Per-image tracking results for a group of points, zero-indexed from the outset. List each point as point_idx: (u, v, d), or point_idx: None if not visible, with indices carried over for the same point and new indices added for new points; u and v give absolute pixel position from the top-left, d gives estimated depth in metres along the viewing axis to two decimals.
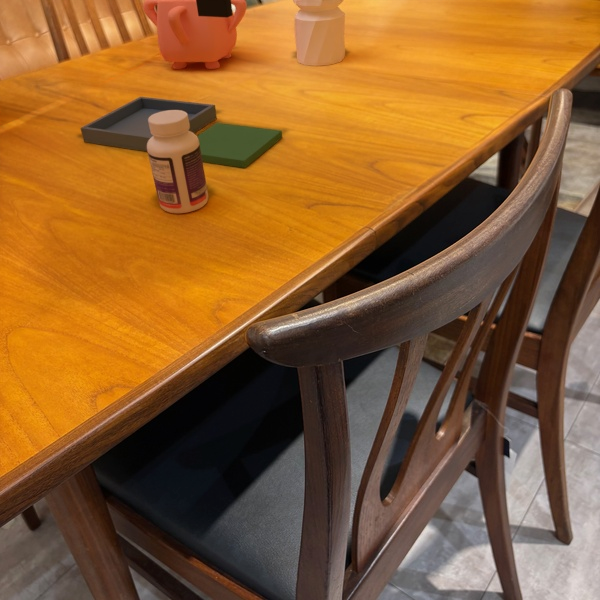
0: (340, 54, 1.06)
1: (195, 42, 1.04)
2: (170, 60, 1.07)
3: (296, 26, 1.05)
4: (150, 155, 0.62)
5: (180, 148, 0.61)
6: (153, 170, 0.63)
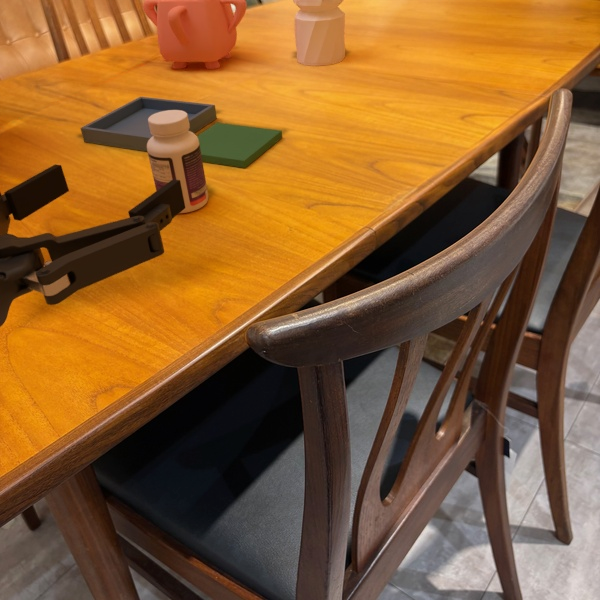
0: (340, 54, 1.06)
1: (195, 42, 1.04)
2: (170, 60, 1.07)
3: (296, 26, 1.05)
4: (150, 155, 0.62)
5: (180, 148, 0.61)
6: (153, 170, 0.63)
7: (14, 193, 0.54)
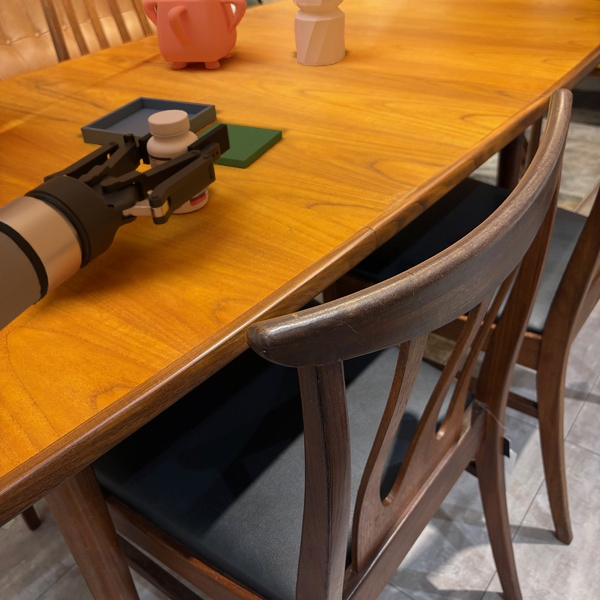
0: (340, 54, 1.06)
1: (195, 42, 1.04)
2: (170, 60, 1.07)
3: (296, 26, 1.05)
4: (150, 155, 0.62)
5: (180, 148, 0.61)
6: None
7: (146, 140, 0.63)
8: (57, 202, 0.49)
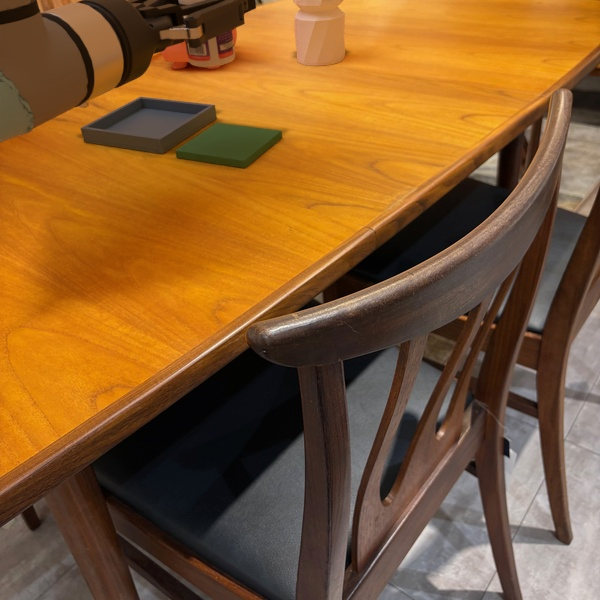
0: (340, 54, 1.06)
1: None
2: (170, 60, 1.07)
3: (296, 26, 1.05)
4: (182, 4, 0.65)
5: None
6: None
7: None
8: (101, 9, 0.52)
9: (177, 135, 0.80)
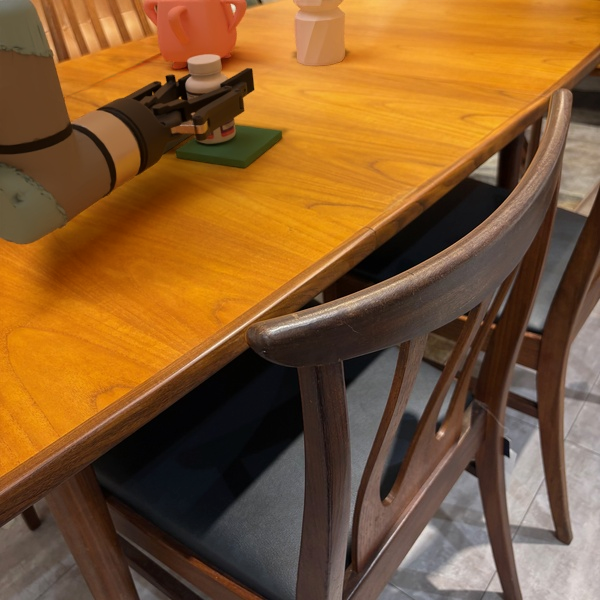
0: (340, 54, 1.06)
1: (195, 42, 1.04)
2: (170, 60, 1.07)
3: (296, 26, 1.05)
4: (189, 92, 0.74)
5: (214, 85, 0.73)
6: None
7: (185, 80, 0.75)
8: (122, 115, 0.60)
9: None
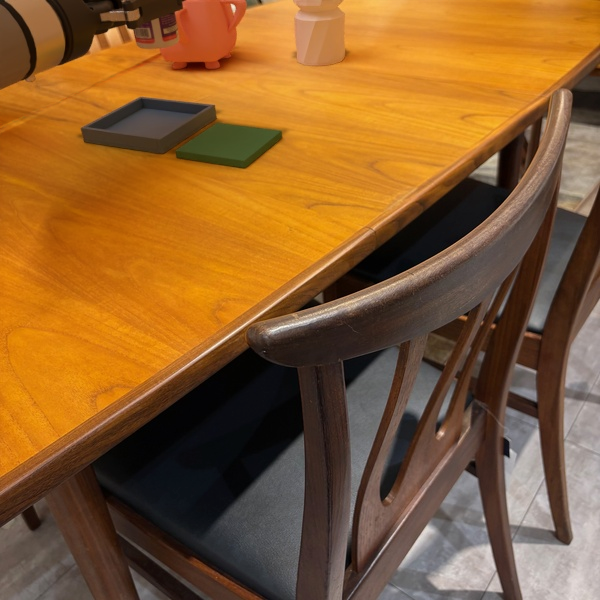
0: (340, 54, 1.06)
1: (195, 42, 1.04)
2: (170, 60, 1.07)
3: (296, 26, 1.05)
4: None
5: None
6: None
7: None
8: None
9: (177, 135, 0.80)
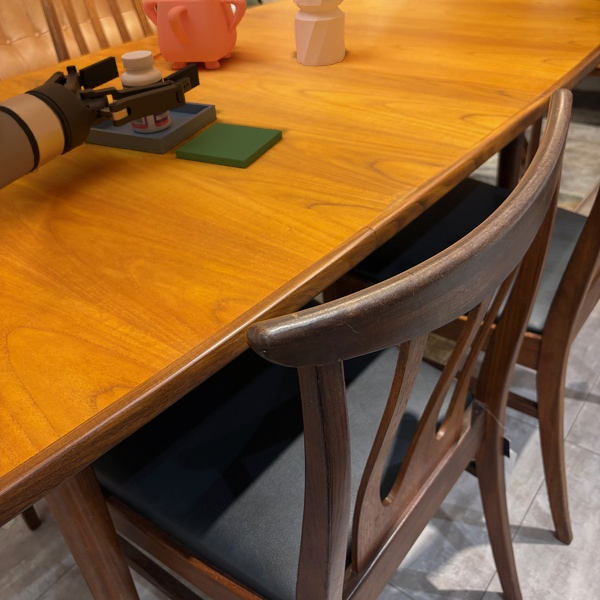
0: (340, 54, 1.06)
1: (195, 42, 1.04)
2: (170, 60, 1.07)
3: (296, 26, 1.05)
4: (123, 85, 0.80)
5: (146, 78, 0.79)
6: None
7: (85, 71, 0.81)
8: (46, 98, 0.66)
9: (177, 135, 0.80)
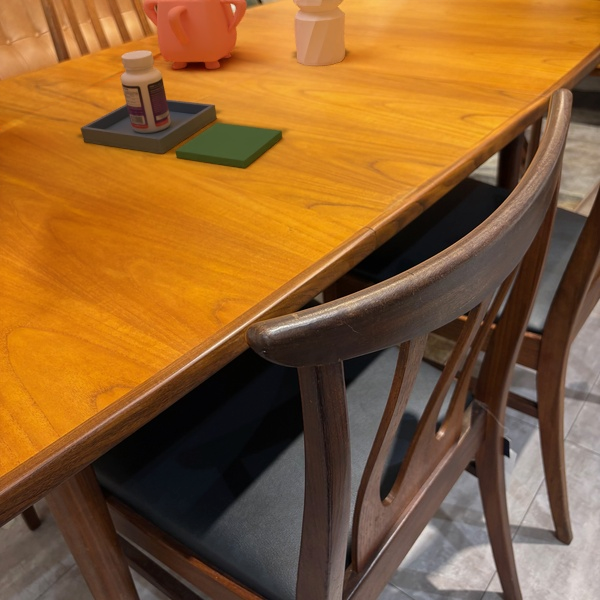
0: (340, 54, 1.06)
1: (195, 42, 1.04)
2: (170, 60, 1.07)
3: (296, 26, 1.05)
4: (123, 85, 0.80)
5: (146, 78, 0.79)
6: (126, 97, 0.81)
7: None
8: None
9: (177, 135, 0.80)
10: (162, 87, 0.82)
